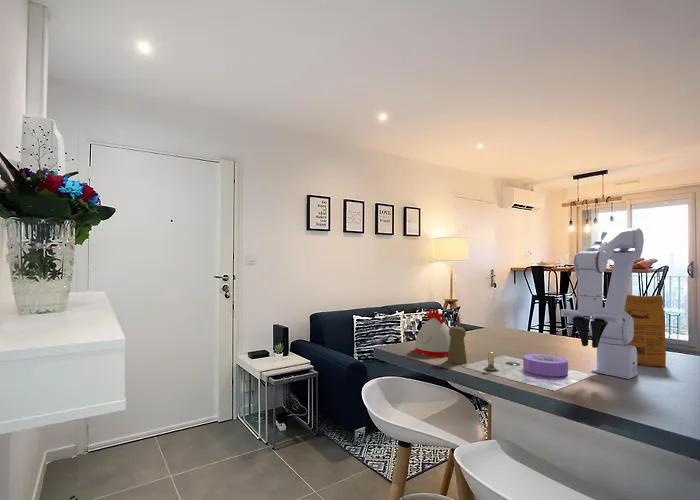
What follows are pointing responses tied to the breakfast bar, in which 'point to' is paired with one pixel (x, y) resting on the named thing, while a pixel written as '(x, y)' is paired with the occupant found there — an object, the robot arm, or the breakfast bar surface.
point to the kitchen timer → (433, 336)
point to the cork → (457, 346)
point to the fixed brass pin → (491, 362)
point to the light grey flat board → (526, 373)
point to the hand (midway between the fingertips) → (590, 346)
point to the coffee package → (648, 329)
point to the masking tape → (545, 365)
